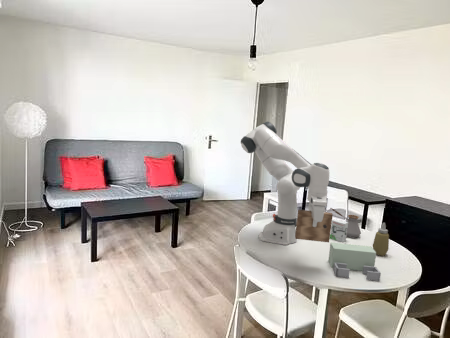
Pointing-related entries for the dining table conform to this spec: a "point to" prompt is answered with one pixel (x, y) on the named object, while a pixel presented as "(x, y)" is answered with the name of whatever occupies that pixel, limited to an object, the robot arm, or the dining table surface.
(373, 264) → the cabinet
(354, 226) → the coffee pot
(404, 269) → the dining table surface
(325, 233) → the brown wooden block
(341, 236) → the ink box
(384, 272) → the dining table surface
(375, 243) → the squeeze bottle
